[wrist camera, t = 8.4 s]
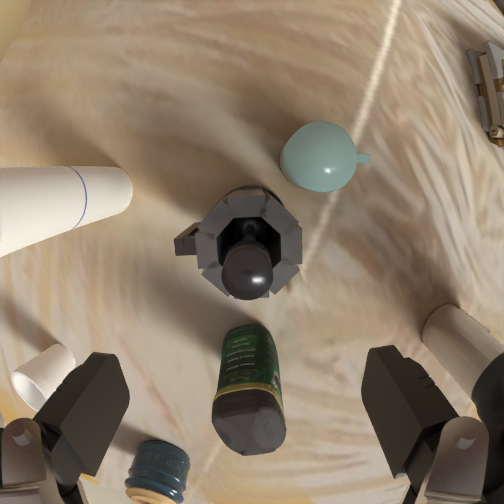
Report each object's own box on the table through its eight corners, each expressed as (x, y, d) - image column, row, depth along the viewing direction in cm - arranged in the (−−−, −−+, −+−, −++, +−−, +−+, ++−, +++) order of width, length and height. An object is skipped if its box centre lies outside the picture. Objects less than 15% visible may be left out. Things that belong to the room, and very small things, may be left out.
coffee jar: (217, 329, 43) (198, 416, 25) (267, 317, 43) (275, 404, 25) (236, 376, 46) (228, 464, 28) (282, 366, 45) (293, 455, 27)
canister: (140, 460, 54) (122, 513, 37) (135, 432, 51) (112, 492, 34) (190, 472, 54) (179, 528, 37) (192, 446, 51) (179, 511, 34)
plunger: (266, 210, 34) (278, 242, 17) (267, 243, 35) (280, 304, 18) (232, 212, 34) (212, 246, 17) (234, 244, 35) (217, 306, 18)
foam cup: (54, 371, 47) (24, 406, 34) (40, 334, 45) (4, 367, 32) (87, 378, 47) (58, 418, 34) (73, 339, 45) (37, 377, 32)
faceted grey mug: (285, 184, 38) (305, 188, 23) (287, 255, 40) (306, 299, 26) (196, 189, 38) (163, 196, 23) (202, 259, 40) (176, 304, 26)
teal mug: (348, 134, 36) (373, 124, 27) (350, 188, 38) (376, 192, 29) (277, 133, 36) (285, 121, 27) (280, 189, 38) (288, 193, 29)
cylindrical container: (140, 199, 38) (13, 235, 14) (104, 223, 39) (-22, 277, 15) (119, 157, 37) (-15, 150, 13) (85, 183, 38) (-48, 203, 13)
